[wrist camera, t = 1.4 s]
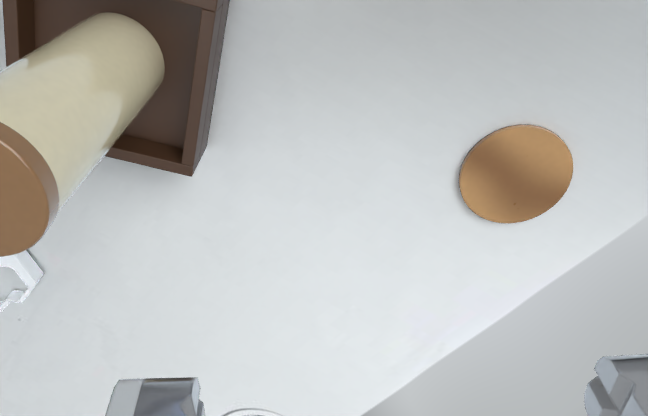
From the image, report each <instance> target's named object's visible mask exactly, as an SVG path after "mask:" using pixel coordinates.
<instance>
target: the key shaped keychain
mask: <svg viewBox="0 0 648 416" xmlns="http://www.w3.org/2000/svg"><path fill="white" fill-rule="evenodd" d="M0 266H2V267H8V268H12V269H13V270H14V271H15V272H16V273H17V275H18V276H19V277H20V278H21V279H22V281H23V282H24V283H25V284H26V286H27V287H28V289H27V290H26V291H25V292H24V291H17V290H13V291H12V292H11V293H10V294H9V296H8V297H7V298H6V300H5V301H4V302H1V301H0V312H3V311H4V309H5V308H6V307H7V305H8V304H9V303H10V301H12V302H18V303H23V302H24V300H25V299H26V298H27V296H28V295H29V294H30V292H31V291H32V290H33V288H34V287H35V286H36V284H37V283H38V282H39V280H40V279H41V277H42V276H43V275H44V273H43V271H42V270H41V269H40V267H39V266H38V265H37V264H36V262H35V261H34V260H33V258H32V257H31V256H30V255H29V253H28V252H27V251H26V250H25V251H23V252H21V253H18V254H14V255H10V256H4V257H0Z"/></svg>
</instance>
